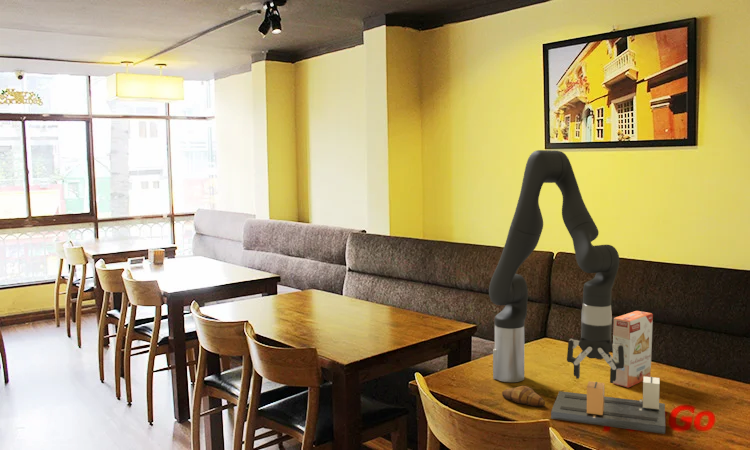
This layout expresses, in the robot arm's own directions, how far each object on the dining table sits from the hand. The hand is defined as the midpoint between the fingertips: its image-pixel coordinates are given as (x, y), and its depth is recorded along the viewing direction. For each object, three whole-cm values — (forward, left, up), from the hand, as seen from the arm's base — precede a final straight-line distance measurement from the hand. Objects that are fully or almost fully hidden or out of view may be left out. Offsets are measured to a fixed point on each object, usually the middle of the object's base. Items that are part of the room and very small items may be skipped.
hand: (594, 380), depth 172 cm
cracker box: (+8, +34, -11) cm, 37 cm away
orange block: (0, 0, -8) cm, 8 cm away
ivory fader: (+14, +9, -8) cm, 18 cm away
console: (+3, +4, -11) cm, 12 cm away
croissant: (-20, +6, -11) cm, 24 cm away
